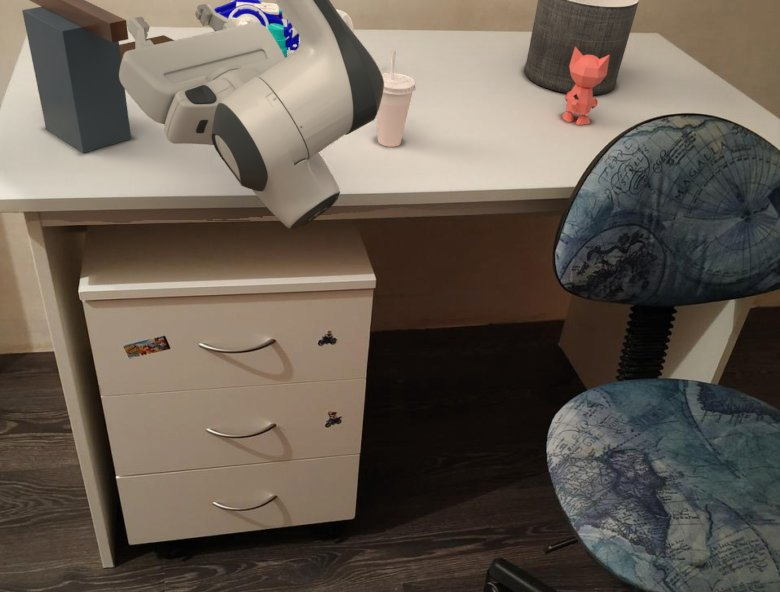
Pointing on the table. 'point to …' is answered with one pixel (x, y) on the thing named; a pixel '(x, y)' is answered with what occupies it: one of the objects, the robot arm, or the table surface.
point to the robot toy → (267, 20)
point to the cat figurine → (584, 85)
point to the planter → (578, 39)
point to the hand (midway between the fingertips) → (168, 14)
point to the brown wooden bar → (89, 17)
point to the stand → (77, 81)
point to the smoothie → (394, 106)
